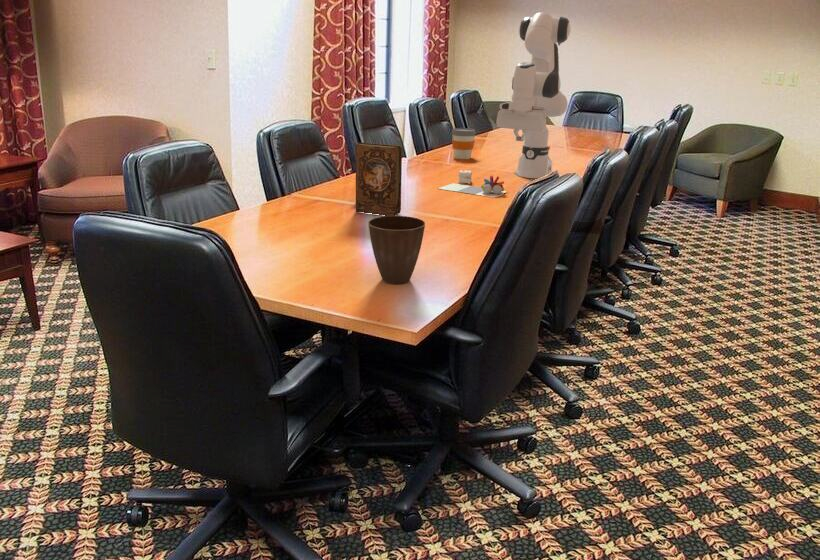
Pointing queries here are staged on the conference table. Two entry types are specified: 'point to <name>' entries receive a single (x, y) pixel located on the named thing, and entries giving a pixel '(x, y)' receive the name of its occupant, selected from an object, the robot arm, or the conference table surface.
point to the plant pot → (396, 246)
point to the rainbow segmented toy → (492, 186)
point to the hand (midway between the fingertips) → (519, 141)
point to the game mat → (469, 190)
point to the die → (465, 176)
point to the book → (378, 178)
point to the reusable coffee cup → (463, 142)
